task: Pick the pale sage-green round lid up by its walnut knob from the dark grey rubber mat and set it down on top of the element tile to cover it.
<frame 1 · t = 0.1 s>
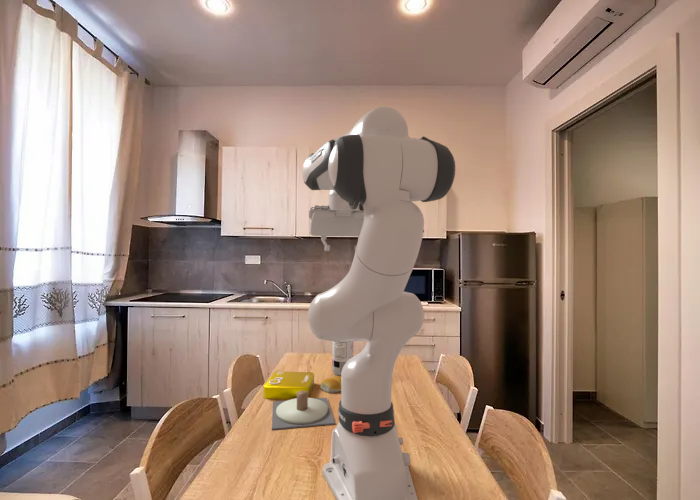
hand: (342, 251, 106), 48 cm above the table, fingers open, 8 cm apart
bread roll: (333, 389, 121), on the table
mat: (302, 412, 102), on the table
lid: (302, 402, 102), on the mat
element tile: (289, 392, 118), on the table
supplement can: (342, 373, 136), on the table
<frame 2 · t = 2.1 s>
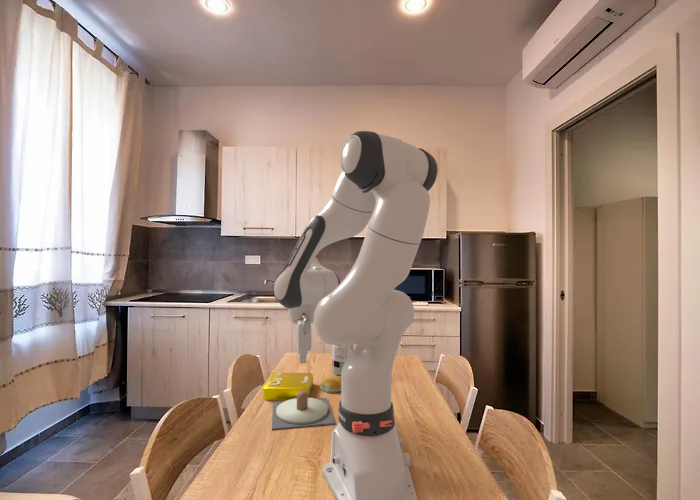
hand: (302, 357, 102), 16 cm above the table, fingers open, 8 cm apart
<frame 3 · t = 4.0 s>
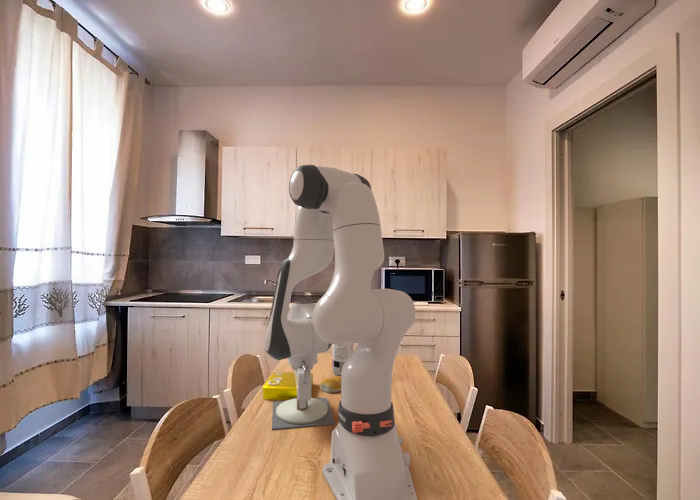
hand: (302, 403, 102), 3 cm above the table, fingers closed on lid, 3 cm apart
lid: (302, 402, 102), on the mat, touching gripper
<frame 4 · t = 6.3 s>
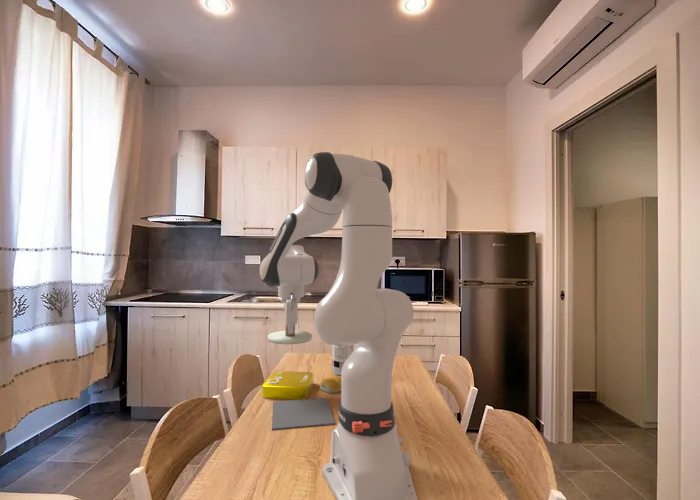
hand: (290, 331, 119), 20 cm above the table, fingers closed on lid, 3 cm apart
lid: (290, 330, 119), point 20 cm above the table, touching gripper
when the fingers open (9 cm above the table, at t = 8.5 s): lid drops 3 cm, resting on element tile.
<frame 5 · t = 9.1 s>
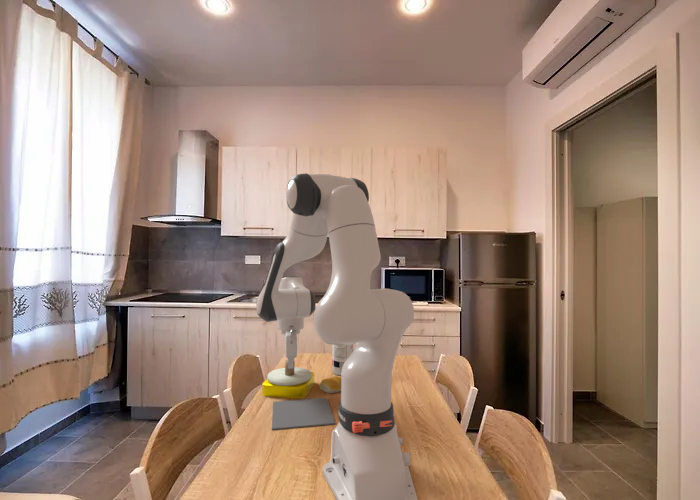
hand: (290, 363, 119), 9 cm above the table, fingers open, 8 cm apart
lid: (289, 369, 119), point 7 cm above the table, touching element tile
element tile: (289, 390, 120), on the table, touching lid
everything else where it was.
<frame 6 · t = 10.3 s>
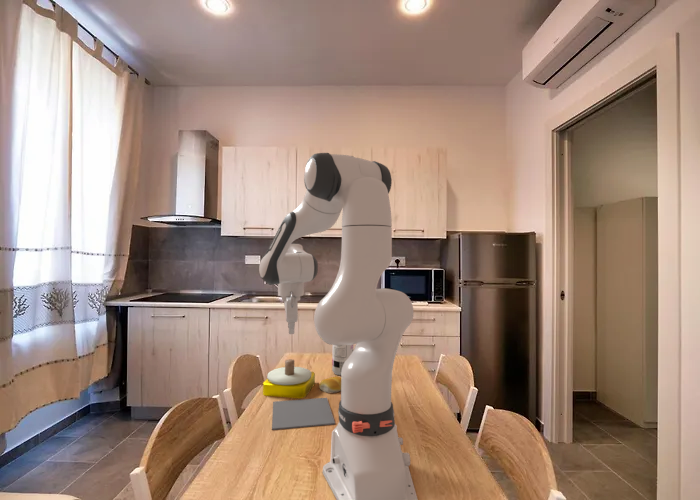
hand: (291, 330, 119), 20 cm above the table, fingers open, 8 cm apart
nothing on the table moved.
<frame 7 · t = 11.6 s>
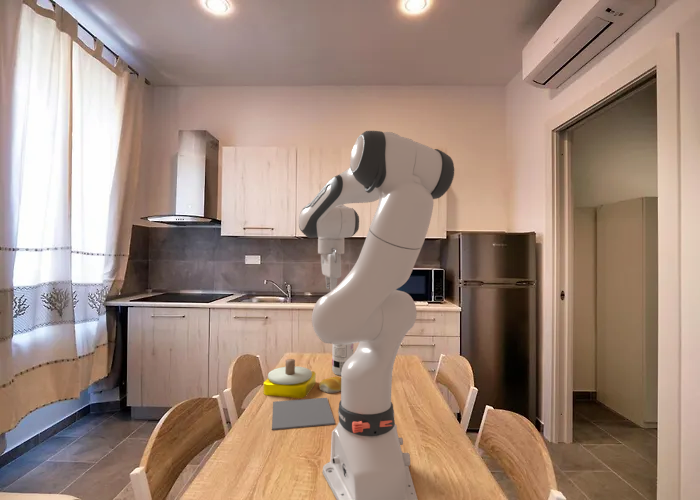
hand: (330, 290, 115), 35 cm above the table, fingers open, 8 cm apart
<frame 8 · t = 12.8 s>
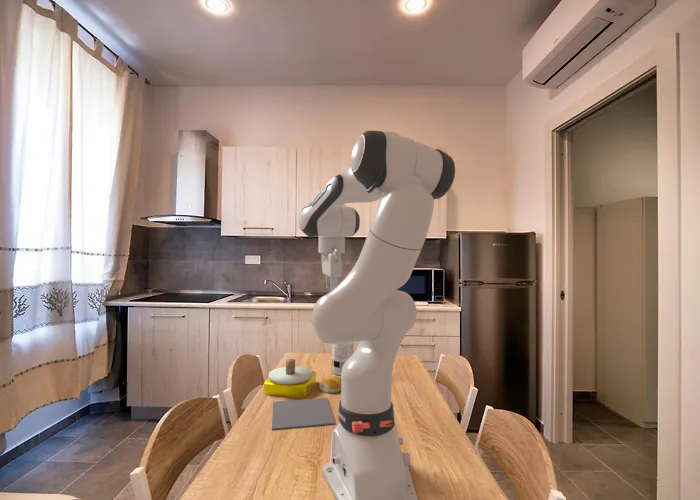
hand: (331, 289, 115), 35 cm above the table, fingers open, 8 cm apart
at the end: lid 0.6 cm from the element tile (horizontally); lid point 7.0 cm above the table; lid tilted 0° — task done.
